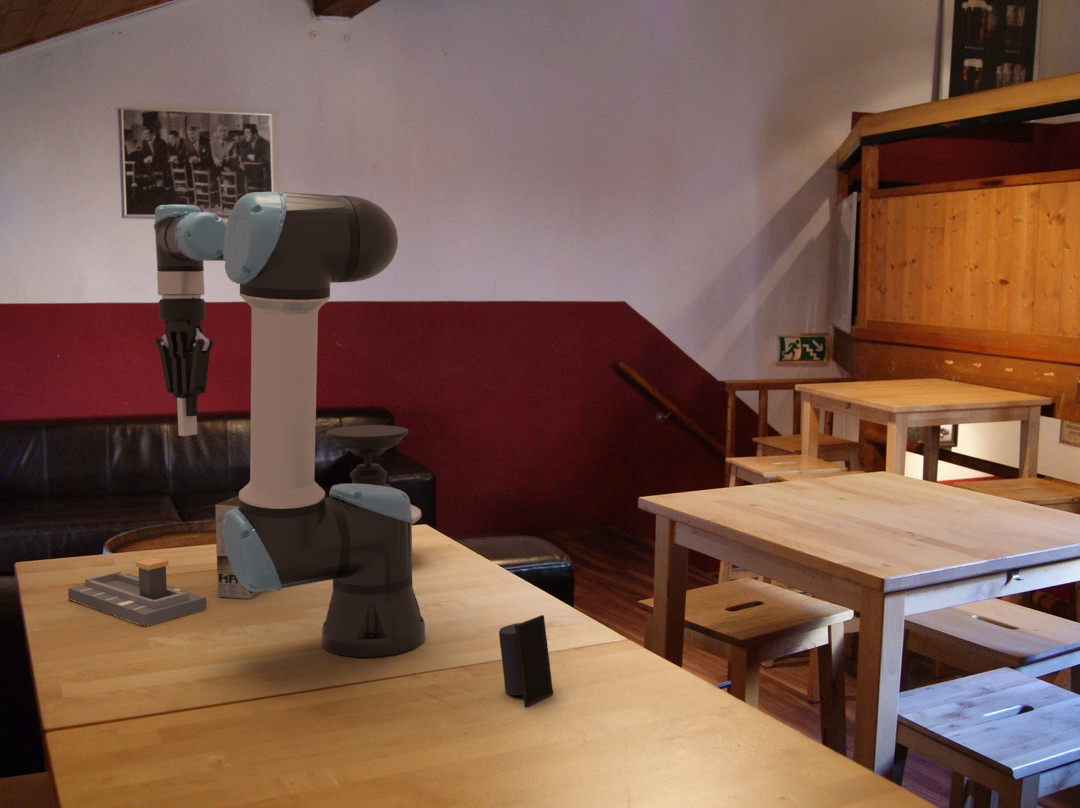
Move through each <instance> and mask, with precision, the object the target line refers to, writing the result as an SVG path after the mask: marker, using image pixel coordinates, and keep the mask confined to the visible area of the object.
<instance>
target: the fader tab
mask: <svg viewBox="0 0 1080 808" xmlns="http://www.w3.org/2000/svg"><path fill="white" fill-rule="evenodd" d="M168 566H169V560H167V559H164V558H160V557H158V556H157V557H150V558H146V559H141V560H137V561H135V567H136V568H137V569H138V577H139V589H140V596H143V597H146V598H149V599H156V598H160V597H164V596H167V586H168V585H167V567H168Z"/></svg>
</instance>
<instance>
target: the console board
mask: <svg viewBox="0 0 1080 808" xmlns="http://www.w3.org/2000/svg"><path fill="white" fill-rule="evenodd" d="M84 582H85V583H84V584H79V585H76V586H70V587H68V588H67V590H68V592H67V593H68V596H67V597H68V600H69V599H72V600H75V601H77V602H80V603H83V604H85V605H88V606H91V607H94V608H96V609H99V610H101V611H100V612H102V611H104V612H107V613H110V614H112V615H111V616H113V615H116V616H118V617H121V618H124V619H127V620H130V621H132V622H135V623H138V624H140V625H139V626H141V625H143V626H147V625H151V624H154V625H156V624H155V623H158V624H160V623H159V622H161V623H164V622H163V621H165V622H167V621H166V620H168V621H170V619H172V620H174V618H175V619H178V618H177V617H179V618H181V616H182V617H185V615H186V616H189V615H192V613H193V614H196V613H199V611H200V612H202V610H203V611H206V610H205V609H208V607H207V597H205V596H202V595H200V594H196V593H193V592H189V591H185V590H183V589H179V588H176V587H173V586H169V585H167V596H164V597H160V598H156V599H149V598H146V597H143V596H140V589H139V575H138V576H137V575H134V574H131V573H126V574H125V573H122V571H119V570H117V571H113V572H108V573H104V574H100V575H96V576H92V577H88V578H85V579H84ZM85 605H84V606H85ZM88 606H87V607H88ZM96 609H95V610H96ZM99 610H98V611H99ZM104 612H103V613H104ZM195 612H196V613H195ZM107 613H106V614H107ZM110 614H109V615H110ZM188 614H189V615H188ZM118 617H117V618H118ZM121 618H120V619H121ZM124 619H123V620H124ZM127 620H126V621H127ZM132 622H131V623H132ZM135 623H134V624H135ZM138 624H137V625H138ZM143 626H142V627H143ZM151 626H152V625H151ZM147 627H148V626H147Z"/></svg>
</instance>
